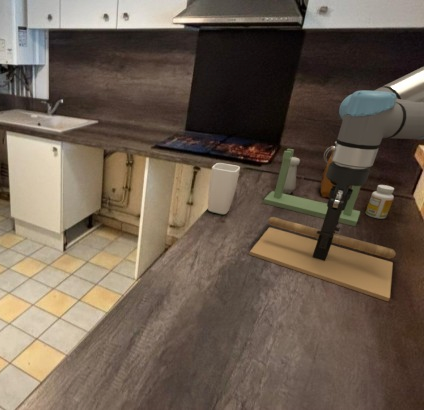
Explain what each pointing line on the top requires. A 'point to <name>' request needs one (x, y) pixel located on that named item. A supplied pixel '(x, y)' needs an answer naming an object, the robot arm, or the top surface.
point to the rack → (307, 205)
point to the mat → (327, 263)
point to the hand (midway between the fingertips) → (320, 255)
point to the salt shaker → (291, 176)
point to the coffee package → (327, 181)
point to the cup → (222, 187)
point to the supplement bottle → (380, 202)
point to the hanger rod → (334, 238)
